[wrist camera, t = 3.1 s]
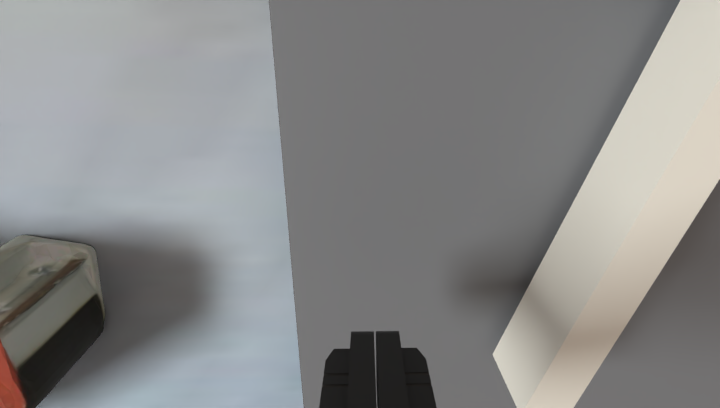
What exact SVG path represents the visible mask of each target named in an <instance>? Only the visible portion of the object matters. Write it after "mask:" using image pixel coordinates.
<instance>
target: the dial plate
mask: <svg viewBox="0 0 720 408" xmlns="http://www.w3.org/2000/svg"><path fill="white" fill-rule="evenodd" d="M679 2H680V0H269V8H270V20H271V31H272V43H273V55H274V66H275V78H276V90H277V101H278V113H279V125H280V136H281V148H282V160H283V171H284V183H285V195H286V206H287V218H288V230H289V241H290V253H291V264H292V276H293V288H294V299H295V311H296V323H297V334H298V346H299V358H300V369H301V381H302V393H303V404H304V408H319V405H320V397H321V390H322V383H323V376H324V368H325V361H326V359H327V358H328V356H329V355H330V353H331V352H332V351H333V349H350V339H351V332H353V331H374V349H375V376H376V331H399V334H400V342H401V348H417V349H418V350H419V351H420V352H421V353H422V355H423V356H424V357H425V358H426V361H427V365H428V370H429V375H430V379H431V386H432V388H433V393H434V398H435V402H436V407H437V408H517V407H516V405H515V403H514V400H513V398H512V396H511V394H510V392H509V389H508V387H507V385H506V383H505V381H504V379H503V376H502V374H501V372H500V370H499V368H498V365H497V363H496V361H495V359H494V357H493V355H492V354H493V352H494V350H495V349H496V347H497V345H498V343H499V341H500V339H501V337H502V335H503V334H504V332H505V330H506V328H507V326H508V324H509V322H510V320H511V318H512V317H513V315H514V313H515V311H516V309H517V307H518V305H519V303H520V301H521V300H522V298H523V296H524V294H525V292H526V290H527V288H528V286H529V285H530V283H531V281H532V279H533V277H534V275H535V273H536V271H537V269H538V268H539V266H540V264H541V262H542V260H543V258H544V256H545V254H546V252H547V251H548V249H549V247H550V245H551V243H552V241H553V239H554V237H555V235H556V234H557V232H558V230H559V228H560V226H561V224H562V222H563V220H564V219H565V217H566V215H567V213H568V211H569V209H570V207H571V205H572V203H573V202H574V200H575V198H576V196H577V194H578V192H579V190H580V188H581V186H582V185H583V183H584V181H585V179H586V177H587V175H588V173H589V171H590V170H591V168H592V166H593V164H594V162H595V160H596V158H597V156H598V154H599V153H600V151H601V149H602V147H603V145H604V143H605V141H606V139H607V137H608V136H609V134H610V132H611V130H612V128H613V126H614V124H615V122H616V121H617V119H618V117H619V115H620V113H621V111H622V109H623V107H624V105H625V104H626V102H627V100H628V98H629V96H630V94H631V92H632V90H633V88H634V87H635V85H636V83H637V81H638V79H639V77H640V75H641V73H642V71H643V70H644V68H645V66H646V64H647V62H648V60H649V58H650V56H651V55H652V53H653V51H654V49H655V47H656V45H657V43H658V41H659V39H660V38H661V36H662V34H663V32H664V30H665V28H666V26H667V24H668V22H669V21H670V19H671V17H672V15H673V13H674V11H675V9H676V7H677V6H678V4H679ZM376 403H377V386H376ZM574 408H720V179H719V181H718V183H717V184H716V186H715V187H714V189H713V190H712V192H711V193H710V195H709V197H708V198H707V200H706V201H705V203H704V204H703V206H702V208H701V209H700V211H699V212H698V214H697V215H696V217H695V219H694V220H693V222H692V223H691V225H690V226H689V228H688V229H687V231H686V233H685V234H684V236H683V237H682V239H681V240H680V242H679V244H678V245H677V247H676V248H675V250H674V251H673V253H672V254H671V256H670V258H669V259H668V261H667V262H666V264H665V265H664V267H663V269H662V270H661V272H660V273H659V275H658V276H657V278H656V280H655V281H654V283H653V284H652V286H651V287H650V289H649V290H648V292H647V294H646V295H645V297H644V298H643V300H642V301H641V303H640V305H639V306H638V308H637V309H636V311H635V312H634V314H633V316H632V317H631V319H630V320H629V322H628V323H627V325H626V326H625V328H624V330H623V331H622V333H621V334H620V336H619V337H618V339H617V341H616V342H615V344H614V345H613V347H612V348H611V350H610V351H609V353H608V355H607V356H606V358H605V359H604V361H603V362H602V364H601V366H600V367H599V369H598V370H597V372H596V373H595V375H594V377H593V378H592V380H591V381H590V383H589V384H588V386H587V387H586V389H585V391H584V392H583V394H582V395H581V397H580V398H579V400H578V402H577V403H576V405H575V406H574Z"/></svg>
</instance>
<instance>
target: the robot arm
mask: <svg viewBox="0 0 720 408" xmlns="http://www.w3.org/2000/svg"><path fill="white" fill-rule="evenodd" d="M376 386H377V403H376ZM319 408H437V407H436V402H435V398H434V393H433V388H432V386H431V379H430V375H429V370H428V365H427V361H426V358H425V357H424V356H423V355H422V353H421V352H420V351H419V350H418V349H417V348H401V342H400V334H399V331H376V376H375V349H374V331H353V332H351V339H350V349H333V351H332V352H331V353H330V355H329V356H328V358H327V359H326V361H325V368H324V376H323V383H322V390H321V397H320V405H319Z"/></svg>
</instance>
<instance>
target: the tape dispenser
mask: <svg viewBox="0 0 720 408" xmlns="http://www.w3.org/2000/svg"><path fill="white" fill-rule="evenodd" d="M104 318H105V310H104V303H103V297H102V290H101V285H100V277H99V269H98V262H97V256H96V251H95V250H94V249H93V247H91V246H89V245H86V244H82V243H75V242H68V241H61V240H53V239H47V238H41V237H35V236H29V235H21V236H17V237H15V238H14V239H12V240H11V241H9V242H7V243H6V244H4V245H3V246H1V247H0V408H35V407H36V406H37V405H38V404H39V403H40V402H41V401H42V400H43V399H44V398H45V397H46V396H47V395H48V393H49V392H50V391H51V390H52V389H53V388H54V386H55V385H56V384H57V383H58V382H59V381H60V380H61V378H62V377H63V376H64V375H65V374H66V373H67V372H68V371H69V369H70V368H71V367H72V366H73V365H74V364H75V363H76V362H77V361H78V359H79V358H80V357H81V356H82V355H83V354H84V353H85V352H86V350H87V349H88V348H89V347H90V346H91V345H92V344H93V343H94V341H95V340H96V339H97V338H98V337H99V335H100V334H101V333H102V331H103V325H104Z"/></svg>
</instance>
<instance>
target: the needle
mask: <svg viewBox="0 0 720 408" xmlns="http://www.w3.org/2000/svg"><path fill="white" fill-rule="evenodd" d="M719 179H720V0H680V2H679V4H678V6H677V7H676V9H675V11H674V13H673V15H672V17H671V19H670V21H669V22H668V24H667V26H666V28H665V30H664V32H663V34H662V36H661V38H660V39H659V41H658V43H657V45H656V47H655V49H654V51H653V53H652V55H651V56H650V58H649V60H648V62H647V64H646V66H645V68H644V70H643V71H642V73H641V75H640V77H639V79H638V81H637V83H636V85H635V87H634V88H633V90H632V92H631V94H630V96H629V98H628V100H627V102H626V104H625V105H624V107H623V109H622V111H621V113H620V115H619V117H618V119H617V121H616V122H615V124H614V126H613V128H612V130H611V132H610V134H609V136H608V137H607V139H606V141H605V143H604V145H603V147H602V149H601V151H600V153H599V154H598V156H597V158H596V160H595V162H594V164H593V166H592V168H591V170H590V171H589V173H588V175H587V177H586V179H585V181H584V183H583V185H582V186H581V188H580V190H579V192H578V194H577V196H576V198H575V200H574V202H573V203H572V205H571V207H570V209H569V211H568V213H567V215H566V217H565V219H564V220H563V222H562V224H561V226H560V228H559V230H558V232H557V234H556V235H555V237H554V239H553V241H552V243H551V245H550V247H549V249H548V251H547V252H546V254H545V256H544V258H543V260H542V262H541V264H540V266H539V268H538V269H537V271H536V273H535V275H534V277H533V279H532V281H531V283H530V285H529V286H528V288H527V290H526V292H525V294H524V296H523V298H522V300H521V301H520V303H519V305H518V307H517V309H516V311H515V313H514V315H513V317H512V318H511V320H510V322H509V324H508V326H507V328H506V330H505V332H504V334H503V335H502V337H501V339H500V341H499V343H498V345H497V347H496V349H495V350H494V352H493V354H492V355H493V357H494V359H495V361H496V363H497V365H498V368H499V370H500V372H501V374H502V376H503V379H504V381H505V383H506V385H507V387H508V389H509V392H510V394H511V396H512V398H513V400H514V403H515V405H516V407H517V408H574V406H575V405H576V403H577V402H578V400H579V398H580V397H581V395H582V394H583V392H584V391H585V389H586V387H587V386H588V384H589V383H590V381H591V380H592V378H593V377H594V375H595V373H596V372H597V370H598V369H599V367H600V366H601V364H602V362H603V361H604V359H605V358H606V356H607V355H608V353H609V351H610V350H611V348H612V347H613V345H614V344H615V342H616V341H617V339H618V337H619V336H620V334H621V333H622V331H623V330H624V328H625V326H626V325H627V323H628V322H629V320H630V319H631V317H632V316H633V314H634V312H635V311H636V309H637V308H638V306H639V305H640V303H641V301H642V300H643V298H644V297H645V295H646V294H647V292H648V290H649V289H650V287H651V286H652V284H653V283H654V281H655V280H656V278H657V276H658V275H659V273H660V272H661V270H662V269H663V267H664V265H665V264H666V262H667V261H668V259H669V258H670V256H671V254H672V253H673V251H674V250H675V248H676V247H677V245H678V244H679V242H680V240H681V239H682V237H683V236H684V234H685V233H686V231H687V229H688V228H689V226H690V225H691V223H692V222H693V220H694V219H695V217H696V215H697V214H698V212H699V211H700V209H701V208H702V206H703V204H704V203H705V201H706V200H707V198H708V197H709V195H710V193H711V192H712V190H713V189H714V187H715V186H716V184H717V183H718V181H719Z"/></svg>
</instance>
